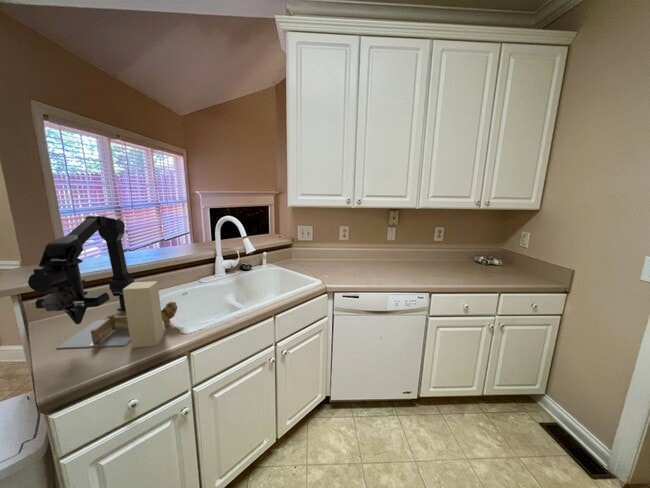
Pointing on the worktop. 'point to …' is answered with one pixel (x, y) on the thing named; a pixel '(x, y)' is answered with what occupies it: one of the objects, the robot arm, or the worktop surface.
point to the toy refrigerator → (143, 313)
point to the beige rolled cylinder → (101, 331)
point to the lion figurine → (168, 313)
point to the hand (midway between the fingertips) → (78, 323)
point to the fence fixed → (118, 322)
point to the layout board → (112, 339)
